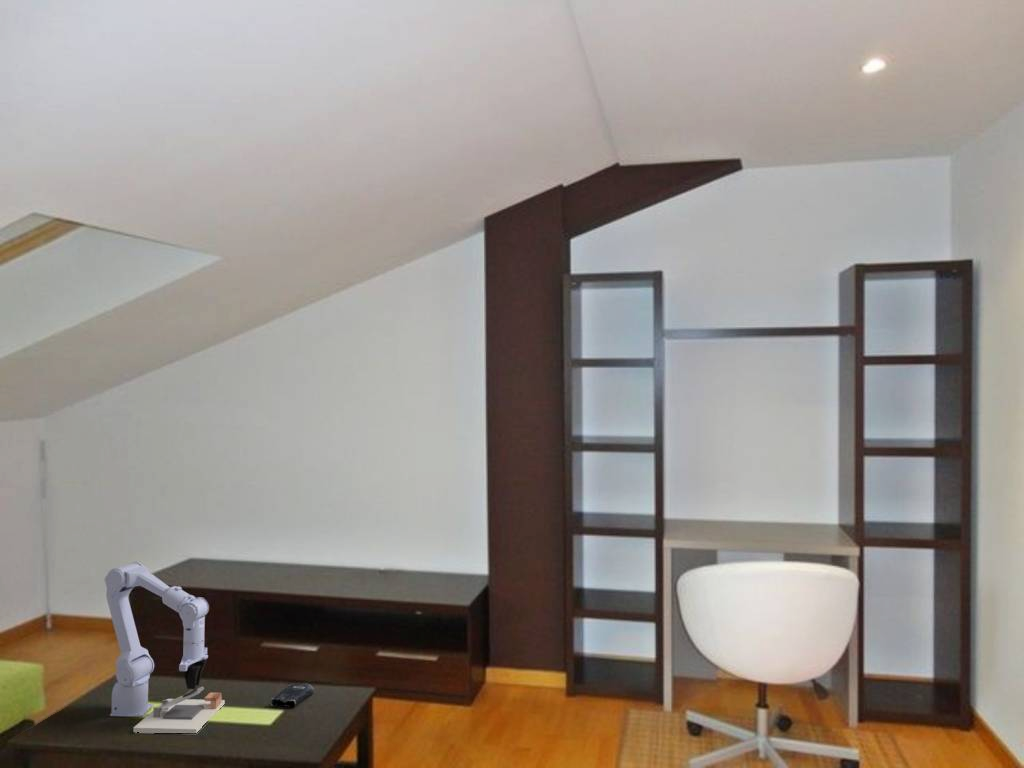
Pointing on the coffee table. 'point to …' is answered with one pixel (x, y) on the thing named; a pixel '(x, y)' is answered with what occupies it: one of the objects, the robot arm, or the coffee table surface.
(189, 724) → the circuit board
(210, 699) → the block
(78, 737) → the coffee table surface
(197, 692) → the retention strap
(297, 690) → the electronic device
